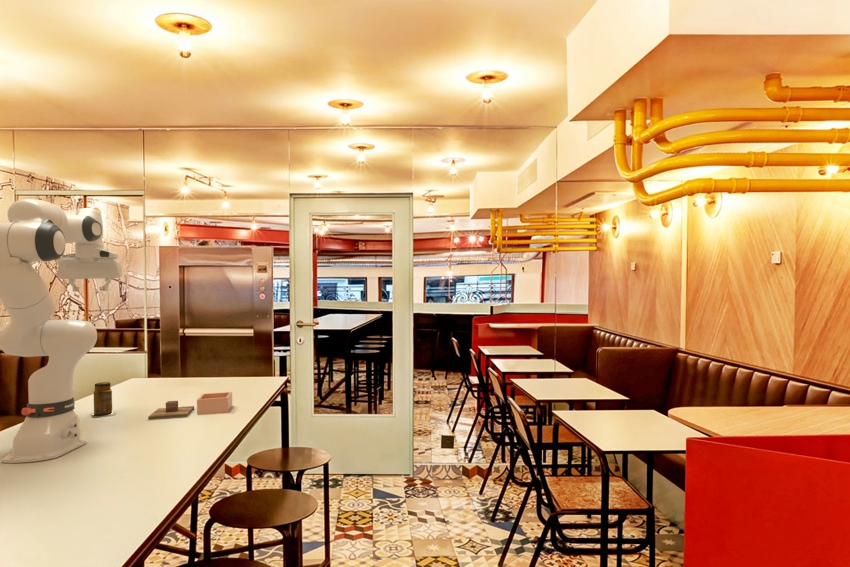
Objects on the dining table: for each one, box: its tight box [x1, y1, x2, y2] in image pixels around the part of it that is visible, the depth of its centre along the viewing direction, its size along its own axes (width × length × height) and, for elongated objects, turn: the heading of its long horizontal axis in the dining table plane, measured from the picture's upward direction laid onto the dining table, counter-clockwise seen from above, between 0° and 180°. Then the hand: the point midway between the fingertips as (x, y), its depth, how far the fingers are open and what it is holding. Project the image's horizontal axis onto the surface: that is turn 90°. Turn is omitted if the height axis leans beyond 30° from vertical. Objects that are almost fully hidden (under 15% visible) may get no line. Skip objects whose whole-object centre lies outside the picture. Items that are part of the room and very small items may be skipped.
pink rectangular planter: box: [196, 391, 233, 416], centre depth 204 cm, size 11×11×6 cm
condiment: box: [90, 381, 116, 418], centre depth 203 cm, size 7×8×12 cm
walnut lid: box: [147, 400, 195, 421], centre depth 199 cm, size 13×13×5 cm
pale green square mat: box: [146, 408, 196, 422], centre depth 199 cm, size 14×14×1 cm
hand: (90, 291), depth 193 cm, fingers open, 8 cm apart
